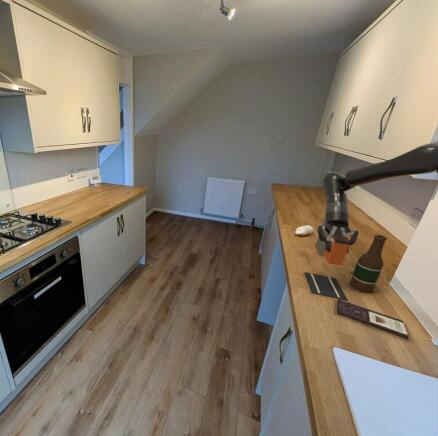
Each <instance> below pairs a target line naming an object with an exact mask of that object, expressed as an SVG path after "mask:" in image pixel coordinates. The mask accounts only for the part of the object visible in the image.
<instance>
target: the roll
mask: <svg viewBox="0 0 438 436" xmlns="http://www.w3.org/2000/svg"><path fill="white" fill-rule="evenodd" d="M295 229H296V230H295V231H294V232H295V234H297V235H298V236H301V237H302V236H306V235H309V234H312V233H313V232H314V227H313V226H311V225H309V224H306V225H302V226H299V227H296V228H295Z"/></svg>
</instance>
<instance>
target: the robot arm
mask: <svg viewBox="0 0 438 436" xmlns="http://www.w3.org/2000/svg"><path fill="white" fill-rule="evenodd" d="M433 173H437V174H438V140H436V141H432V142H429V143H425V144H422V145H418V146H416V147H415V148H413V149H411V150H409V151H407V152H404V153H403V154H400V155H398V156H395V157H392V158H391V159H387V160H384V161H380V162H375V163H371V164H366V165H363V166H359V167H356V168H352V169H350V170H348V171H347V172H346V173H345V175H343V174H341V173H338V172H336V171H335V172H334V171H331V172H328V173H326V174H325V175H324V177H323V178H322V184H321V185H322V189H323V192H324V195H325V197H326V205H325V217H326V225H325V226H323V227H322V226H321V225H319V226H317V228H316V232H317V235H318V236H319V238H320V241H324V242H325V249H326V250H327V252H330V251H331V242H330V241H331V236H332V235H334V234H337V235H343V236H345V237H347V239H348V240H349V241H350V245H349V247H348V250H347V253H346V255H348V253H349V252H350V246H351V247H352V246H353V245H355V244H356V241H357V238H358V237H359V236H358V235H359V233H360V231H358V230H353V229H351V228H350V226H349V225H350V221H349V219H350V218H349V217H350V216H349V207H348V195H347V193H346V192H348V191H350V190H351V189H353V188H356V187H358V186H362V185H366V184H367V185H368V184H371V183H374V182H375V183H376V182H379V181H383V180H386V179H390V178H396V177H402V176H403V177H405V176H414V175H426V174H427V175H428V174H433ZM324 229H325V230H326V231H327V233H328V236H327V238H325V234H324ZM348 234H349V236H350V239H349V237H348Z"/></svg>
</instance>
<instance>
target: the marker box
mask: <svg viewBox="0 0 438 436" xmlns="http://www.w3.org/2000/svg"><path fill="white" fill-rule="evenodd" d="M330 242H331V251H330V252H327V250H326V249H325V251H324V255H323V257H324V259H325V261H326V262H327V264H328V265H333V266H334V265H335V266H340V267H342V266H343V264H344V261H345V258H346V256H347V254H348V253H347V250H348V247H349V248H350V239H349V238H348V239H347V237H345V236H343V235H337V234H334V235H332V236H331V241H330ZM346 253H347V254H346Z"/></svg>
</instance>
